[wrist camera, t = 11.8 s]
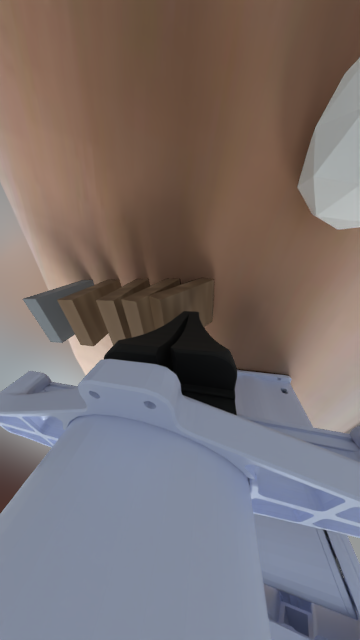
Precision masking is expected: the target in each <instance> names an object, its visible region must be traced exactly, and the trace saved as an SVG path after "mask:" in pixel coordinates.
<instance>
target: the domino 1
mask: <svg viewBox="0 0 360 640" xmlns="http://www.w3.org/2000/svg"><path fill="white" fill-rule="evenodd" d="M91 286H94V283H93V280H81V281H78V282H75V283H72V284H69V285H65V286H62V287H59V288H56V289H53V290H50V291H47V292H43V293H40V294H37V295H34V296H30V297H27V298H24V299H23V300H24V302H25V303H26V305H27V306H28V308H29V310H30V311H31V312H32V314H33V315H34V317H35V318H36V320H37V322H38V323H39V325H40V326H41V328H42V329H43V331H44V332H45V334H46V335H47V337H48V338H49V340H50V341H51V342H59V343H63V342H64V341H66V340H67V339H69V338H70V337H72V336H73V335H74V334H75V333H74V331H73V329H72V327H71V325H70V324H69V322H68V320H67V318H66V316H65V314H64V312H63V310H62V308H61V307H60V305H59V303H58V301H57V300H58V299H60V298H63V297H65V296H68V295H71V294H73V293H76V292H78V291H81V290H83V289H86V288H89V287H91Z"/></svg>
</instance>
